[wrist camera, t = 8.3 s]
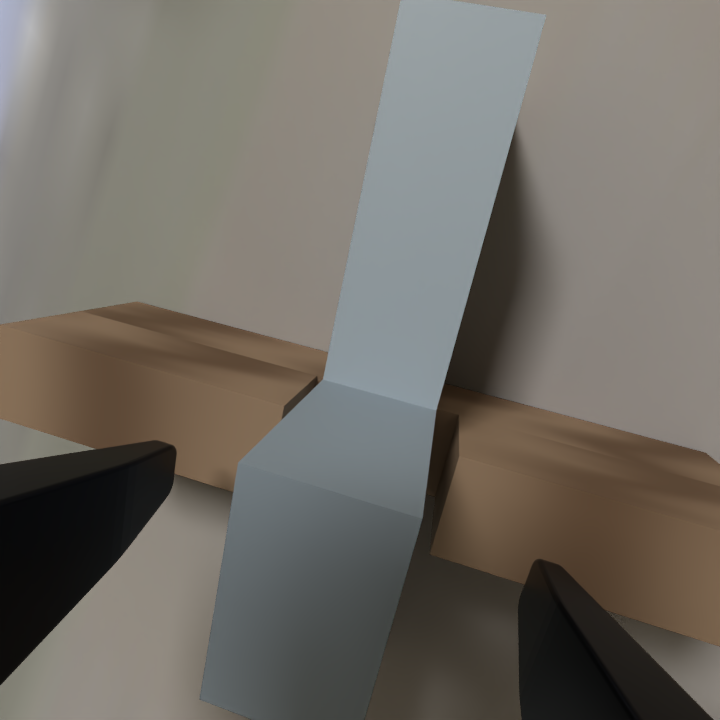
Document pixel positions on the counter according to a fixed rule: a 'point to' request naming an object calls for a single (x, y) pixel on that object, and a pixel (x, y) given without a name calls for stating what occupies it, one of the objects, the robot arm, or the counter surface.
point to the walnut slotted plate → (447, 461)
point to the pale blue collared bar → (371, 383)
